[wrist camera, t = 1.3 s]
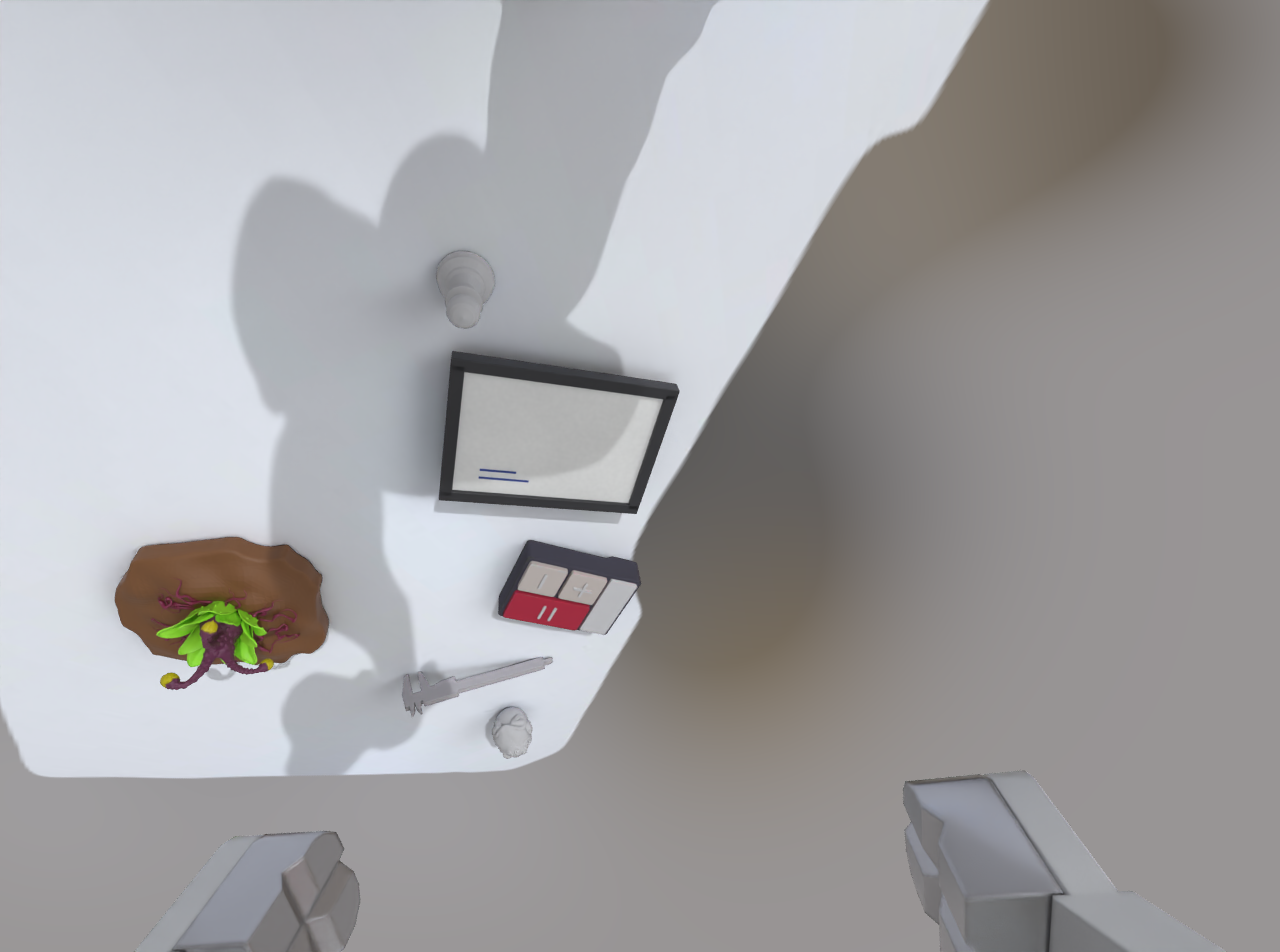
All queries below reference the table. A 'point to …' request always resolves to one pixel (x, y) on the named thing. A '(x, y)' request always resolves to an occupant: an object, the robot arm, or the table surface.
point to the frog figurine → (512, 732)
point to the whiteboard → (550, 435)
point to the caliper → (463, 684)
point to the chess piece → (465, 286)
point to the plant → (222, 604)
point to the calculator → (568, 588)
